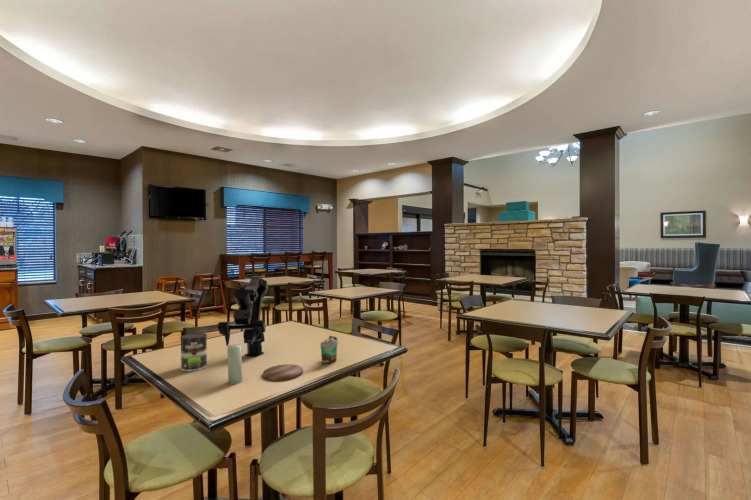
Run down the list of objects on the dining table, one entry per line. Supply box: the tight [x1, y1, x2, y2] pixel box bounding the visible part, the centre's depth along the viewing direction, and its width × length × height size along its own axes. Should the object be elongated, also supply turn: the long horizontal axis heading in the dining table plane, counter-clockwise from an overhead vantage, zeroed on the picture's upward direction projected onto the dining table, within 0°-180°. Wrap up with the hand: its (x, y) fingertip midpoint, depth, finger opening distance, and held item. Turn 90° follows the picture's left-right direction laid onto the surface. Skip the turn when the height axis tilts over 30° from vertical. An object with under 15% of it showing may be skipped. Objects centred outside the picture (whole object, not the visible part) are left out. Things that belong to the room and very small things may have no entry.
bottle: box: [227, 344, 243, 385], centre depth 140 cm, size 5×5×14 cm
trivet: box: [262, 363, 304, 382], centre depth 148 cm, size 16×16×1 cm
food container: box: [320, 335, 340, 365], centre depth 163 cm, size 12×6×10 cm, turn 168°
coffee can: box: [180, 332, 208, 372], centre depth 157 cm, size 10×10×14 cm
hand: (238, 345), depth 146 cm, fingers open, 9 cm apart
